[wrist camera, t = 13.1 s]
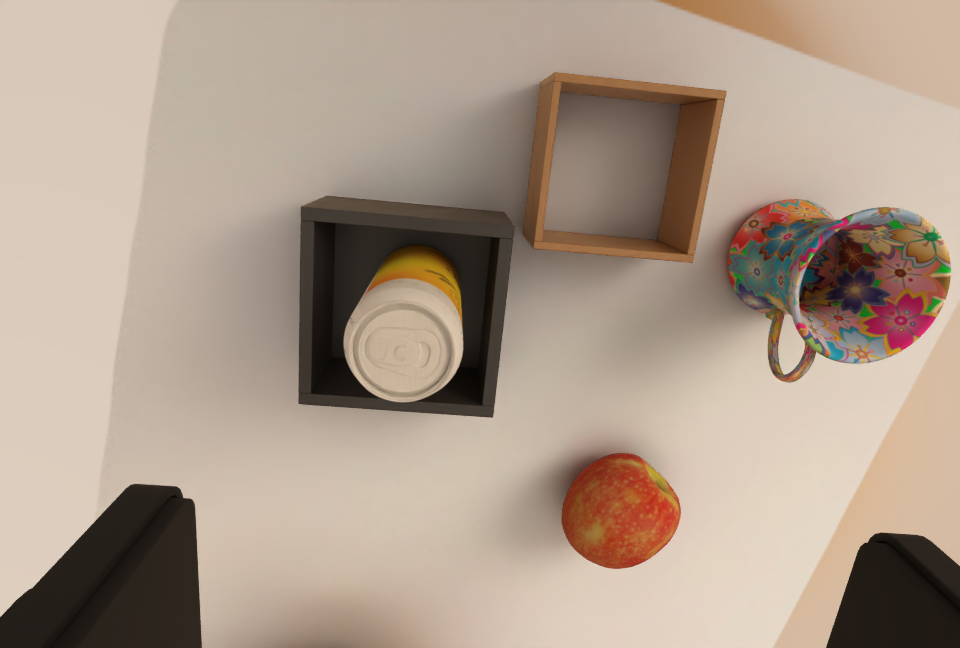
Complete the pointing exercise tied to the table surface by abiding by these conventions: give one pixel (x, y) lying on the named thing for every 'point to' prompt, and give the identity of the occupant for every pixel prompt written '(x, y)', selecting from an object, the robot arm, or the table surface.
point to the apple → (620, 512)
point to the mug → (840, 279)
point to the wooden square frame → (684, 176)
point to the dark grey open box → (353, 264)
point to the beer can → (407, 326)
